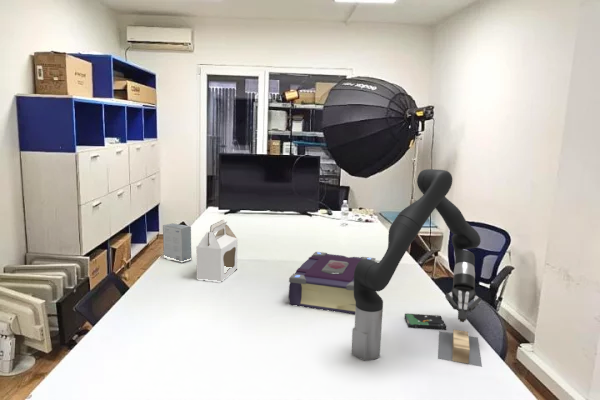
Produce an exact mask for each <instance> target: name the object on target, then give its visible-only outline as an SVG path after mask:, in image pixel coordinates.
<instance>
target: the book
mask: <svg viewBox="0 0 600 400" xmlns="http://www.w3.org/2000/svg"><path fill="white" fill-rule="evenodd" d="M362 259H369V260H372V261H375V262H376V258H375V257H367V256H360V257H359V256H349V257H348V256H345V255H339V254H332V253H328V252H323V251H321V252H320V251H315V252H313V253H312V254H311V256H309V257H308V259H307V260H305V262H303V263H302V264H301V266H300V267H298V268H297V269H296V270H295V271H296V272H294V273H293V274H292V275H291V276H290V277H289V278H288V283H289V286H288V300H289V305H290V304H291V305H290V306H293V305H297V306H296V307H300V306H304V307H303V308H307V307H309V308H308V309H314V308H316V309H315V310H320V309H323V310H322V311H327V310H329V311H328V312H334V311H335V312H336V313H341V314H347V315H348V314H349V315H354V316H355V308H356V301H355V298H354V271H355V268H356V265H357V264H358V262H359V261H361V260H362Z"/></svg>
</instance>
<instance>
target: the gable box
mask: <svg viewBox="0 0 600 400" xmlns="http://www.w3.org/2000/svg"><path fill="white" fill-rule="evenodd" d="M227 224H228V221H225V219H221V220H220V221H217V222H215V223H213V224H211V225H210V228H209V231H207V232H206V233H204V236H203V237H202V239H201V240H200V241H199V243H198V244H197V245H196V248H195V249H196V279H197V278H198V279H208V280H217V281H222V280H223V279H224V278H226V277H227V276H228V275H229V274H231V273H232V272H233V271H234V270H235V269H237V270H238V238H237V236H236V235H235V234H234V232H233V231H232V229H231V228H230V226H229V225H227ZM215 233H216V234H215ZM224 266H226V267H232V268H229V269H228V270H227V272H226V273H224ZM231 275H232V274H231ZM226 279H227V278H226Z"/></svg>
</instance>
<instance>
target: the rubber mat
mask: <svg viewBox="0 0 600 400" xmlns="http://www.w3.org/2000/svg"><path fill="white" fill-rule="evenodd" d="M438 331H439V332H438V344H437V345H438V349H437V360H442V361H448V362H453V363H459V364H465V365H471V366H475V367H481V368H482V367H483V364H482V357H481V356H482V355H481V350H480V342H479V337H477V336H471V335H468V337H469V348H470V352H469V362H468V363H462V362H457V361H453V356H452V340H453V332H446V331H442V330H438Z"/></svg>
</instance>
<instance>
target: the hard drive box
mask: <svg viewBox="0 0 600 400" xmlns="http://www.w3.org/2000/svg"><path fill="white" fill-rule="evenodd" d="M162 236H163V237H162V238H163V239H162V243H163V244H162V245H163V256H164V255H165V256H167V257H170V258H174V259H176V260H179V261H184V260H187V259H190V258H191V259H192V227H191V225H184V224H179V223H168V224H164V225H162Z"/></svg>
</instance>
